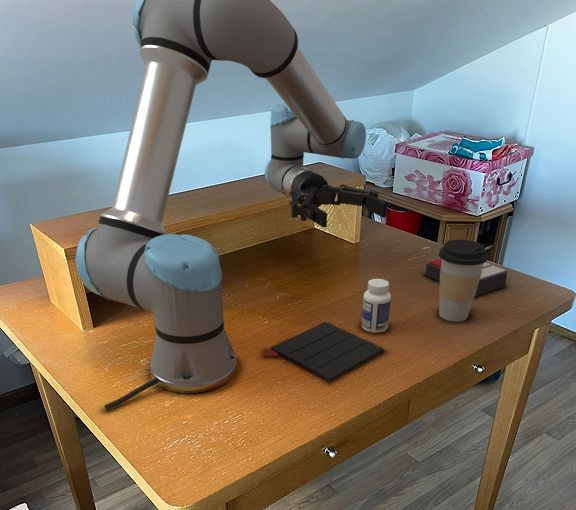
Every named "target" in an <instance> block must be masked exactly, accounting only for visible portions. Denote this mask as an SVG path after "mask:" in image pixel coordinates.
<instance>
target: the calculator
mask: <svg viewBox="0 0 576 510" xmlns="http://www.w3.org/2000/svg"><path fill="white" fill-rule="evenodd" d="M425 266H426V267H425V277H428V278H431V279H433V280H436V281H438V282H440V268H441V258H440V257H439V258H437V259H433V260H430V261H429V262H428V263H426V265H425ZM507 279H508V271H507V270H506V269H504V268H501V267H498V266H495V265H492V264H491V263H490V262H487V261H486V262H485V263H484V264H483V268H482V274H481V277H480V281H479V284H478V287H477V290H476V294H475V297H477V296H481V295H483V294H487V293H490V292H492V291H495V290H499V289H502V288H505V287H506V284H507Z"/></svg>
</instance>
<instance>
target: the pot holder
mask: <svg viewBox="0 0 576 510" xmlns="http://www.w3.org/2000/svg"><path fill="white" fill-rule="evenodd" d="M384 351H385V349H384V348H383V347H382V346H379V345H377V344H375V343H374V342H373V343H372V342H370V341H368V340H366V339H364V338H362V337H360V336H358V335H355V334H354V333H351V332H348V331H347V330H344V329H342V328H340V327H338V326H336V325H334V324H331V323H329V322H327V321H324V322H322V323H320V324H318V325H316V326H313V327H311V328H309V329H307V330H305V331H303V332H300V333H299V334H296V335H294V336H292V337H290V338H288V339H285V340H283V341H282V342H280V343H277V344H275V345H274V346H273V345H272V346H271V347H270V348H265V351H264V358H278V357H279V356H280V357H281V358H283V359H285V360H287V361H289V362H291V363H293V364H295V365H296V366H298V367H300V368H301V369H304V370H306V371H308V372H309V373H311V374H313V375H315V376H317V377H318V378H320V379H323V380H324V381H326V382H328V383H331V382H332V381H335V380H336V379H338V378H339V377H342V376H344V375H346V374H347V373H349V372H351V371H353V370H354V369H356V368H358V367H359V366H361V365H363V364H365V363H367V362H369V361H370V360H372V359H374V358H375V357H377V356H379V355H381V354H383V353H384Z"/></svg>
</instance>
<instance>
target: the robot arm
mask: <svg viewBox="0 0 576 510" xmlns="http://www.w3.org/2000/svg"><path fill="white" fill-rule="evenodd" d="M132 25H133V27H135V30H134V31H133V34H134V37H135V39H136V41H137V43H138V45H139V46H140V47H139V51H138V53H139V56H140V58H141V59H142V62H143V64H144V66H145V68H144V71H143V75H142V80H141V84H140V88H139V92H138V95H137V96H138V97H137V102H136V105H135V110H134V112H133V113H134V114H133V116H132V117H133V118H132V122H131V126H130V130H129V134H128V138H127V142H126V146H125V150H124V154H123V155H124V156H123V160H122V164H121V166H120V171H119V175H118V181H117V184H116V189H115V192H114V197H113V201H112V205H111V207H110V209H108V210H106V211H104V212H102V213H101V214H100V215H99V218H98V224H97V227H95V228H91V229H90V230H87V232H86V234H83V235H82V236H81V238H80V239H79V242H78V244H77V247H76V252H75V266H76V270H77V271H76V272H77V274H78V276H79V278H80V279H81V281H82V284H83V285H84V286H85V287H86V288H87V290H89V291H90V292H92V293H93V294H95V295H99V296H101V297H102V298H103V299H106V300H107V301H113V302H114V301H115V302H119V303H121V304H125V305H128V306H130V307H131V306H132V307H134V308H138V309H141V310H145V311H147V312H151V313H152V315H153V320H154V321H153V322H154V329H155V339H154V343H153V348H152V352H151V358H150V362H149V370H150V377H151V379H150V380H149V381H147V382H145V383H143V384H142V385H140V386H138V387H136V388H134V389H133V390H131V391H129V392H128V393H127V394H125V395H123V396H121V397H120V398H117V399H115V400H113V401H111V402H109V403H106V404H104V409H105V410H106V411H109V410H111V409H113V408H115V407H117V406H119V405H121V404H124V403H125V402H127V401H129V400H130V399H132V398H134V397H135V396H137V395H139V394H141V393H143V392H144V391H146V390H147V389H149V388H151V387H153V386H154V385H157V386H158V387H160V388H162V389H165V390H167V391H169V392H174V393H180V394H195V393H197V394H198V393H202V392H207V391H208V392H209V391H212V390H214V389H217V388H220V387H222V386H224V385H226V384H227V383H228V382H230V381H231V380H232V379H233V378H234V377H235V376H236V373H237V370H238V359H237V355H236V354H237V353H235V350H234V348H233V346H232V343H231V341H230V338H229V336H228V334H227V332H226V329H225V320H224V317H225V316H224V301H223V281H222V280H223V273H222V268H221V265H220V264H221V263H220V256H219V253H218V251H217V249H216V248H215V247H214V245H212V243H210V242H208V241H207V240H205V239H203V238H201V237H198V236H195V235H191V234H185V233H184V234H183V233H182V234H176V233H167V230H166V229H165V228H164V226H163V219H164V215H165V211H166V207H167V203H168V200H169V195H170V190H171V187H172V184H173V183H172V182H173V179H174V175H175V172H176V167H177V163H178V158H179V154H180V151H181V147H182V143H183V138H184V134H185V130H186V127H187V123H188V118H189V115H190V111H191V106H192V103H193V98H194V95H195V91H196V86H197V85H199V84H201V83H203V82H205V81H206V80H207V78H208V76H209V72H210V68H211V65H212V61H218V62H219V61H220V62H221V61H223V62H224V61H225V62H233V63H236V64H240V65H243V66H244V67H246V68H248V69H249V71H250V72H251V73H252V74H253V75H254V76H256V77H257V78H261V79H265V80H266V82H268V84H269V85H270V86H271V88H272V89H273V90H274V91H275V93H276V94H277V95H278V96H279V98H280V99H281V100H282V101H283V102H284V103H276V104H275V105H273V106H272V108H271V110H270V125H269V129H270V154H271V155H270V159H269V161H268V162H267V164H266V166H265V168H264V178H265V181H266V182H267V184H268V185H269V186H270V187H271V188H272V189H273V190H274V189H276V190H277V191H276V190H275V191H276V192H278V191H279V192H278V193H280V192H281V193H280V194H282V193H283V194H282V195H284V194H285V195H284V196H286V197H287V198H288V204H289V205H290V208H291V210H290V211H291V212H290V213H291V215H290V216H291V218H292V219H296V218H298V216H300V221H301V222H306V221H308V220H310V221H312V222H314V223H315V224H317V225H318V226H320V227H321V228H327V227H328V226H327V225H328V213H327V212H326V211H325V210H323V209H321V208H319V207H321V206H322V205H323V206H329V205H330V206H331V205H332V206H340V205H350V206H359V207H365V210H367V211H369V212H371V213H373V214H375V215H377V216H379V217H380V218H386V217H387V212H388V211H387V209H388V203H387V202H385V201H383V200H380V199H379V194H380V193H379V192H378V191H374V190H372V189H371V190H368V189H364V188H358V187H353V186H350V185H347V184H343V183H342V184H339V186H338V187H337V186H332V185H329V183H328V181H327V180H326V178H325V177H324V176H322V174H319V173H317V172H315V171H313V170H311V169H309V168H307V167H304V157H305V154H312V155H321V156H326V157H332V158H340V159H342V160H344V159H351V160H352V159H353V160H354V159H358V158H359V157H360V156H361V155H362V153H363V151H364V149H365V146H366V142H367V131H366V130H367V129H366V126H365V125H364V123H362V122H361V121H357V120H354V119H351V120H348V119H347V117H345V115H344V113H343V112H342V110H341V109H340V107H339V105H338V104H337V102H336V101H335V100H334V98H333V97H332V95H331V94H330V92H329V91H328V89H327V88H326V86H325V85H324V83H323V81H322V80H321V79H320V77H319V76H318V74H317V73H316V71H315V69H314V68H313V67H312V65H311V64H310V62H309V61H308V59H307V58H306V56H305V55H304V53H303V52H302V50H301V49H300V47H299V45H300V44H299V43H300V41H299V35H298V33H297V31H296V29H294V27H293V24H292V23H291V22H290V21H289V19H288V18H287V17H286V15H285V14H284V13H283V11H281V10H280V8H279V7H278V6H277V5H276V4H275V3H274V2H272V1H271V0H135V1H134V3H133V9H132Z"/></svg>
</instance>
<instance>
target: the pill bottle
mask: <svg viewBox="0 0 576 510" xmlns="http://www.w3.org/2000/svg"><path fill="white" fill-rule="evenodd" d="M389 287H390V282H389V281H388V280H386V279H383V278H372V279H370V280H368V282H367V290H365V292H364V293H363V297H362V298H363V299H362V311H361V328H362V329H363V330H364V331H366V332H369V333H373V334H374V333H375V334H377V333H384V332H386V330H387V329H388V328H389V321H390V311H391V302H392V295H391V293H390V292H389Z"/></svg>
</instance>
